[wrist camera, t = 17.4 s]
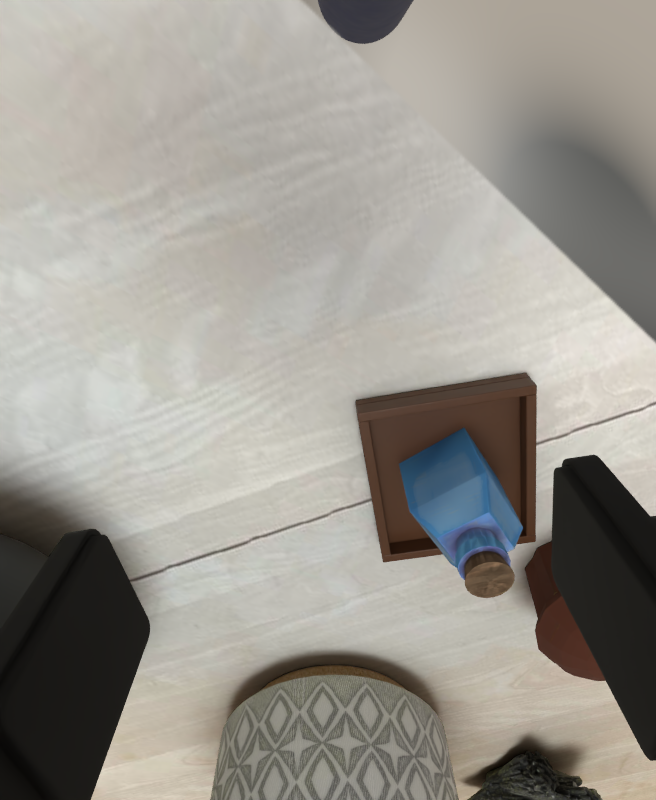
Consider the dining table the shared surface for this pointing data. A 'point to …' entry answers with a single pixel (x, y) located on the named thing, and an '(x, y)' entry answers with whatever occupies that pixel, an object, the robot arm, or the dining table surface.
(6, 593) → the ball
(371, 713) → the planter
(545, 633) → the muffin
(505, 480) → the tray
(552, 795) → the mineral specimen
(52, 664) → the robot arm
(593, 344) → the dining table surface
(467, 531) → the perfume bottle
